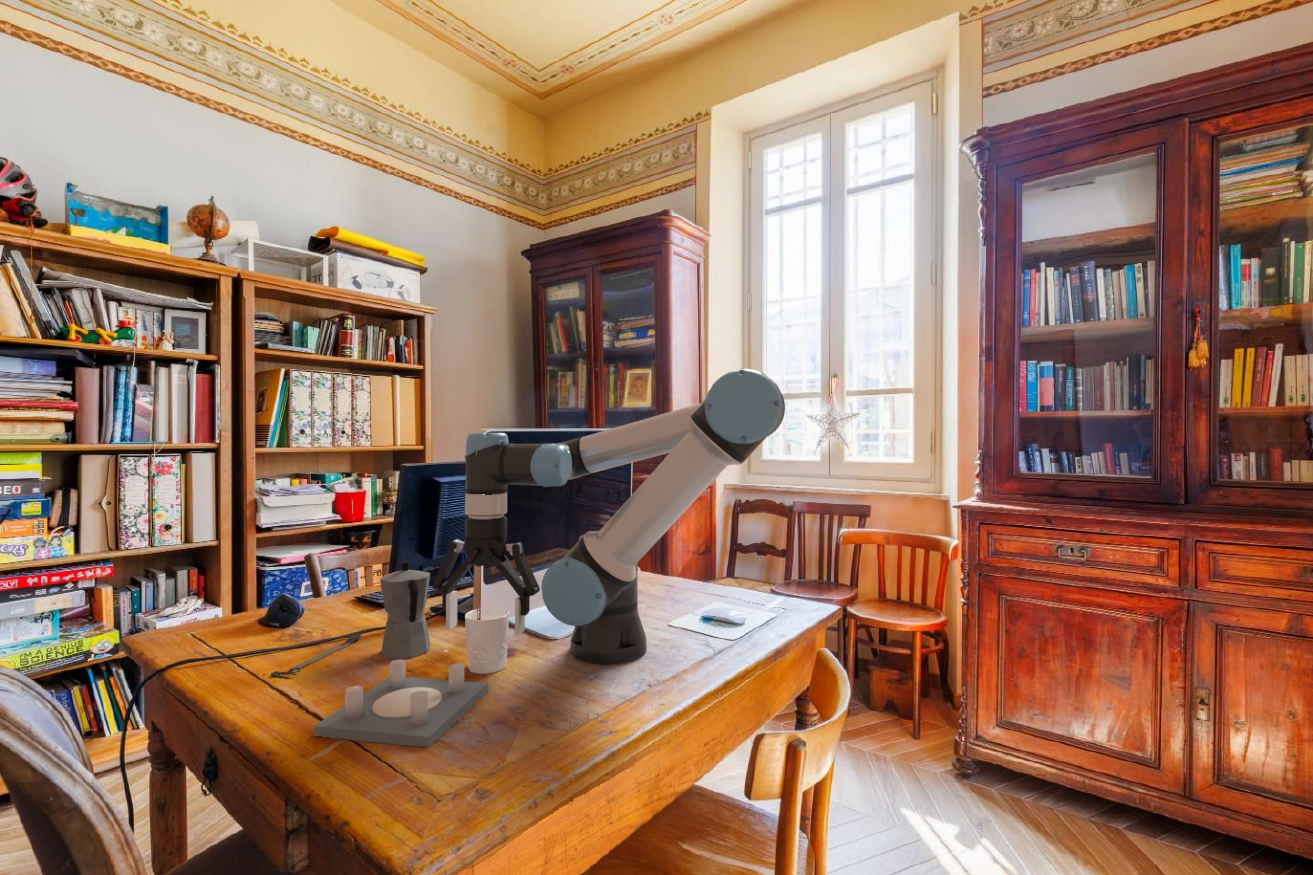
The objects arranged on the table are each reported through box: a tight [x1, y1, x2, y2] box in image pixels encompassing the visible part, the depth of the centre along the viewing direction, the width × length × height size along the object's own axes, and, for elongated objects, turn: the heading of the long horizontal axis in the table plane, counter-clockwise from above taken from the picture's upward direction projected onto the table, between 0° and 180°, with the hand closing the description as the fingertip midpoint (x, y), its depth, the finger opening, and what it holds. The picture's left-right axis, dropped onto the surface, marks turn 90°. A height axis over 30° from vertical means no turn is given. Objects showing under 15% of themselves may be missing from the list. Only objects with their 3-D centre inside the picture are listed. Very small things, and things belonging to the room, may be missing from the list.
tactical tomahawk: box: [270, 633, 362, 680], centre depth 116 cm, size 21×7×1 cm, turn 166°
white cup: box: [464, 606, 510, 675], centre depth 111 cm, size 8×8×10 cm
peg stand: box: [313, 659, 489, 748], centre depth 93 cm, size 18×18×6 cm
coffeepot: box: [379, 560, 431, 660], centre depth 118 cm, size 15×9×18 cm, turn 33°
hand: (485, 629), depth 111 cm, fingers open, 13 cm apart
